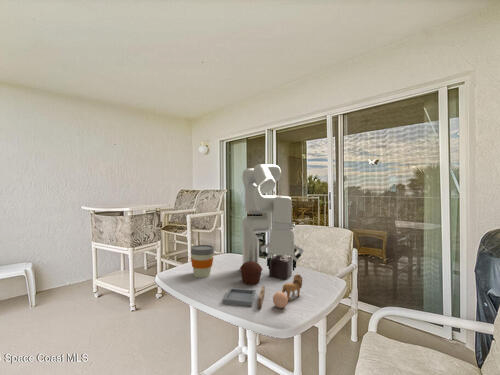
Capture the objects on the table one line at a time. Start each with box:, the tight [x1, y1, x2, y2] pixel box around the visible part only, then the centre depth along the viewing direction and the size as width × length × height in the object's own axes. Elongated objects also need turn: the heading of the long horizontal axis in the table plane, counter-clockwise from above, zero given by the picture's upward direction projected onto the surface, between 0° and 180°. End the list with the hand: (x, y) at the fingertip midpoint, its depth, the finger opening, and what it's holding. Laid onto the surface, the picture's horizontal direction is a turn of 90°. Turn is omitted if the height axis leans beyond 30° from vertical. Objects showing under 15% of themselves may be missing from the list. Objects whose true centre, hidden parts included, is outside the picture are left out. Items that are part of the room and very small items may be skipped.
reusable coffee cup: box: [190, 244, 215, 279], centre depth 133 cm, size 13×13×15 cm
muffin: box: [239, 261, 263, 286], centre depth 124 cm, size 12×11×10 cm
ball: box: [272, 291, 289, 309], centre depth 98 cm, size 6×6×6 cm
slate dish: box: [222, 287, 257, 307], centre depth 105 cm, size 12×12×2 cm
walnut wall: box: [257, 285, 266, 310], centre depth 102 cm, size 13×1×4 cm, turn 171°
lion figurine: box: [281, 273, 303, 302], centre depth 107 cm, size 15×5×9 cm, turn 138°
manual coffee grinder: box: [268, 248, 298, 280], centre depth 133 cm, size 16×11×18 cm
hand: (281, 268), depth 98 cm, fingers open, 9 cm apart
